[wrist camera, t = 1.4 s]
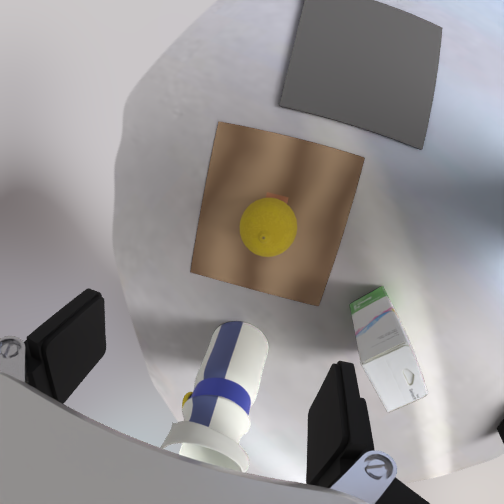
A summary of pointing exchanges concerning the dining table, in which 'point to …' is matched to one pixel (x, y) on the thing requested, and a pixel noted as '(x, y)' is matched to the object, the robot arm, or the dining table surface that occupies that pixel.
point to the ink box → (386, 351)
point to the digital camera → (501, 430)
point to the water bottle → (222, 398)
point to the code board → (285, 189)
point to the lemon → (268, 227)
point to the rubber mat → (365, 67)
